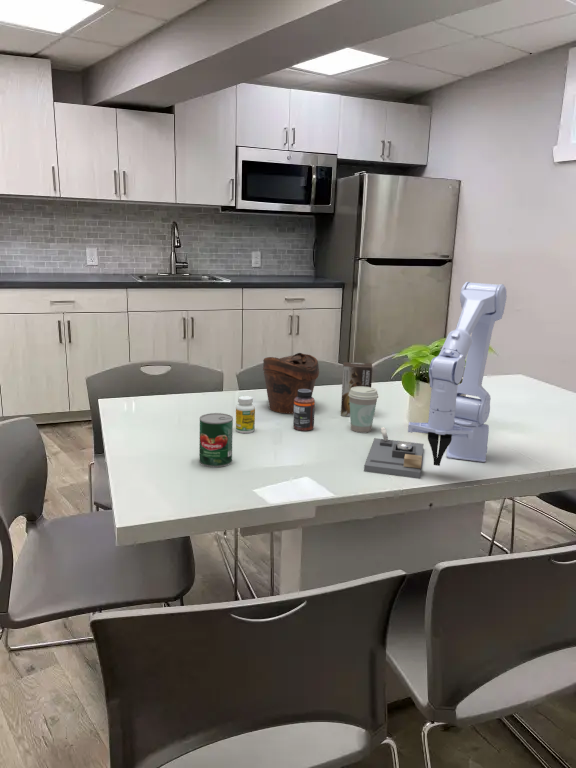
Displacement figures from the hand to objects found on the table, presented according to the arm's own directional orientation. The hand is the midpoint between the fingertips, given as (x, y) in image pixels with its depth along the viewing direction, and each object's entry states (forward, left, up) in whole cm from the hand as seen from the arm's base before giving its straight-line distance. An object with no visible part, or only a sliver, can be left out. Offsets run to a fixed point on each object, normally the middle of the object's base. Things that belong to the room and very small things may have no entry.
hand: (436, 464), depth 139 cm
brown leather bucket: (+46, -43, -3) cm, 63 cm away
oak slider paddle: (+5, 0, -1) cm, 6 cm away
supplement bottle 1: (+52, -16, -3) cm, 55 cm away
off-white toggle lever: (+13, -14, 0) cm, 19 cm away
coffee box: (+25, -44, -3) cm, 50 cm away
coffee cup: (+21, -29, -3) cm, 36 cm away
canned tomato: (+51, +9, -3) cm, 52 cm away
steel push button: (+8, -7, 0) cm, 11 cm away
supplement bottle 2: (+37, -24, -3) cm, 44 cm away
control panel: (+10, -7, -3) cm, 13 cm away
